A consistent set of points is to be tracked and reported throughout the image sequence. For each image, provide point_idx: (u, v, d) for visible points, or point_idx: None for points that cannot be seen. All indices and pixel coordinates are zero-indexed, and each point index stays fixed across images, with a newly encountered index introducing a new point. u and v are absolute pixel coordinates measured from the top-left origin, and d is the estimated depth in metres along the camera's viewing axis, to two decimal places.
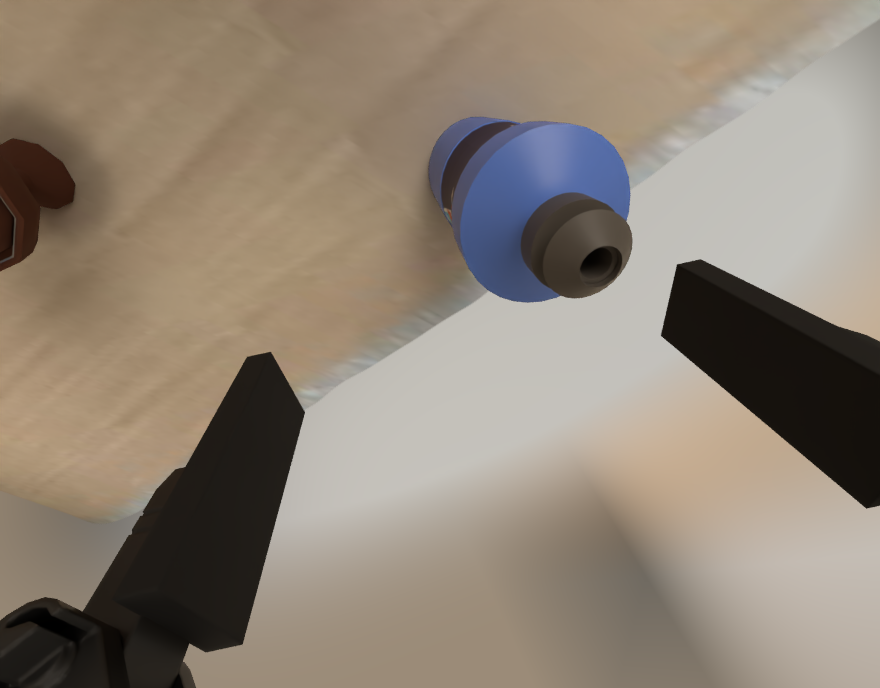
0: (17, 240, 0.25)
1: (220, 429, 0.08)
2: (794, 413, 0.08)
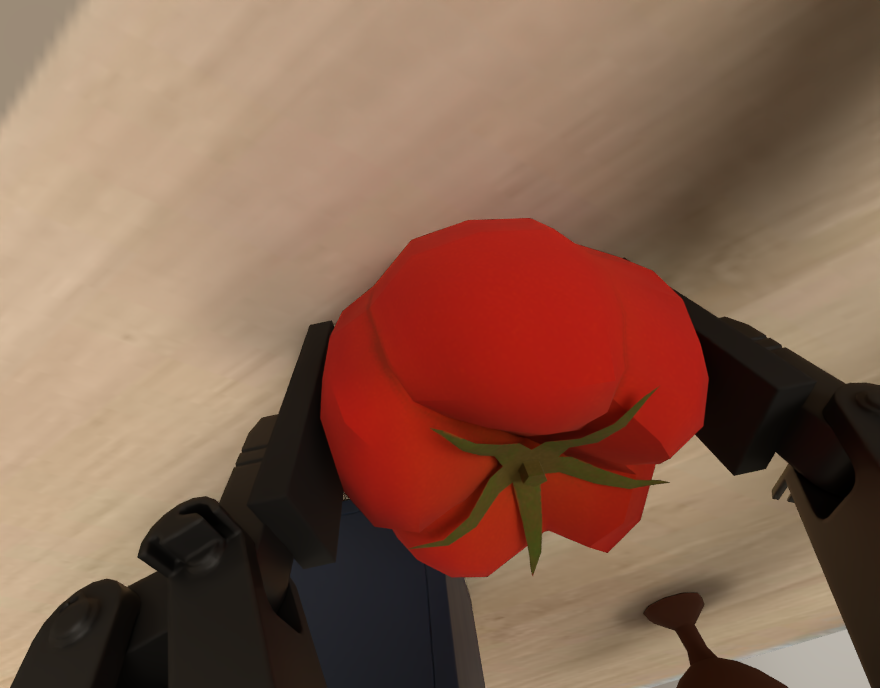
0: None
1: (303, 381, 0.09)
2: None
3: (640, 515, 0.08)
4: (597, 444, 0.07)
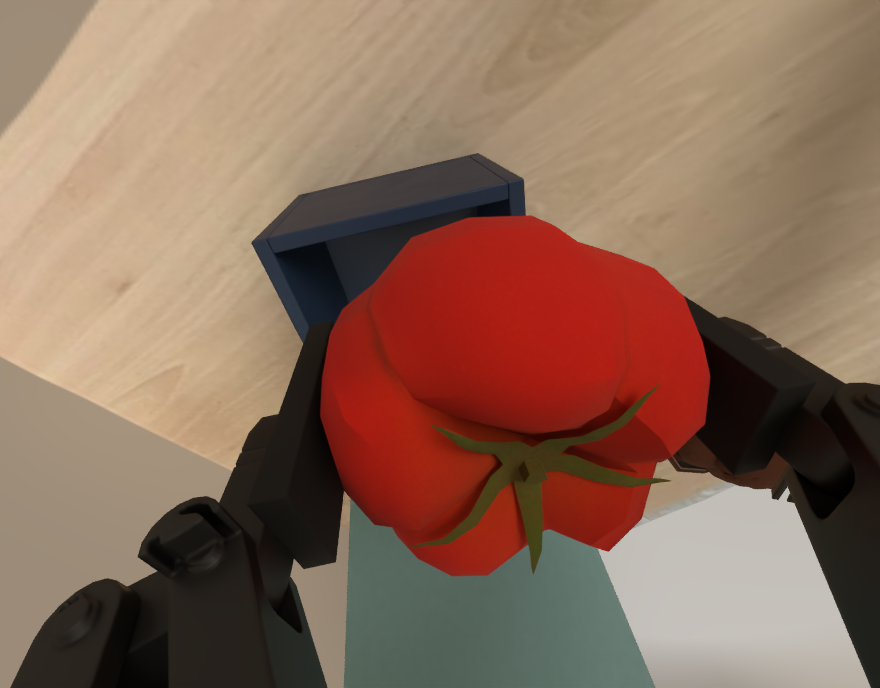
0: None
1: (303, 381, 0.09)
2: None
3: (641, 513, 0.08)
4: (598, 442, 0.07)
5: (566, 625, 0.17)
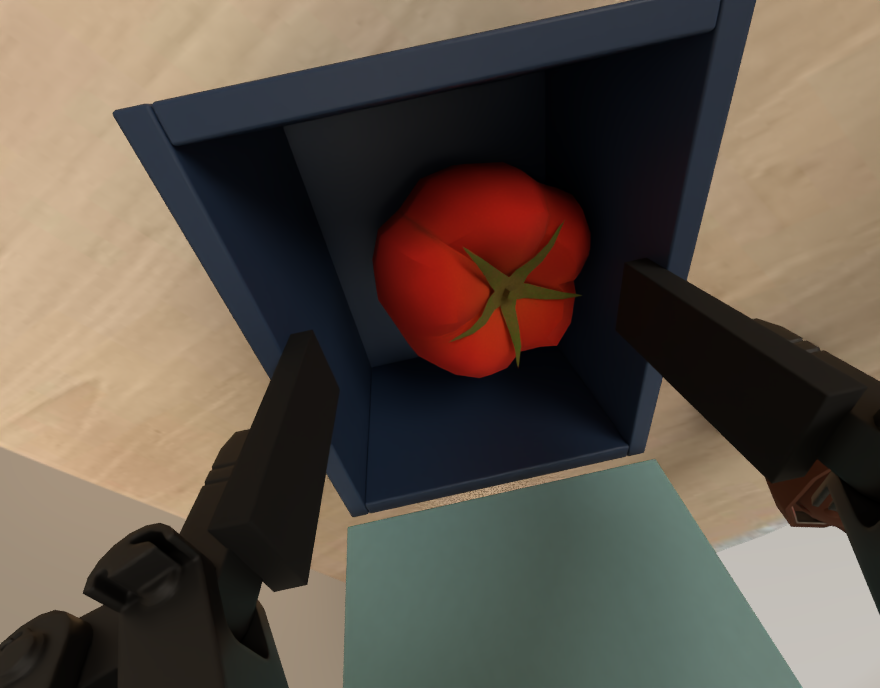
0: None
1: (277, 394, 0.09)
2: (716, 399, 0.09)
3: (570, 319, 0.15)
4: (542, 266, 0.13)
5: None
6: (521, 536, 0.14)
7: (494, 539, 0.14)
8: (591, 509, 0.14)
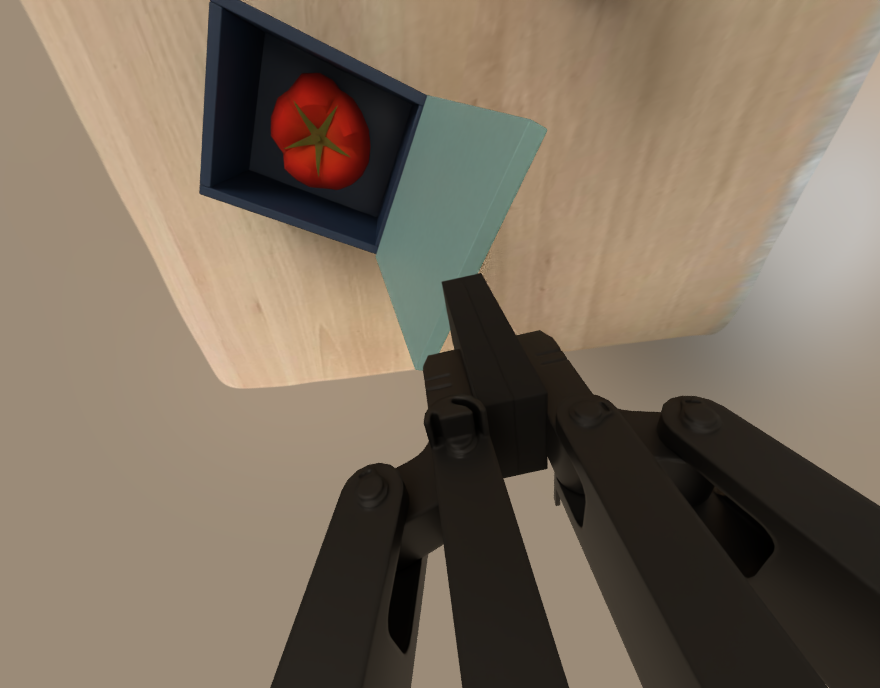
0: None
1: (467, 321, 0.10)
2: None
3: (345, 118, 0.30)
4: (312, 118, 0.30)
5: (463, 165, 0.19)
6: (403, 186, 0.29)
7: (399, 199, 0.29)
8: (415, 146, 0.28)
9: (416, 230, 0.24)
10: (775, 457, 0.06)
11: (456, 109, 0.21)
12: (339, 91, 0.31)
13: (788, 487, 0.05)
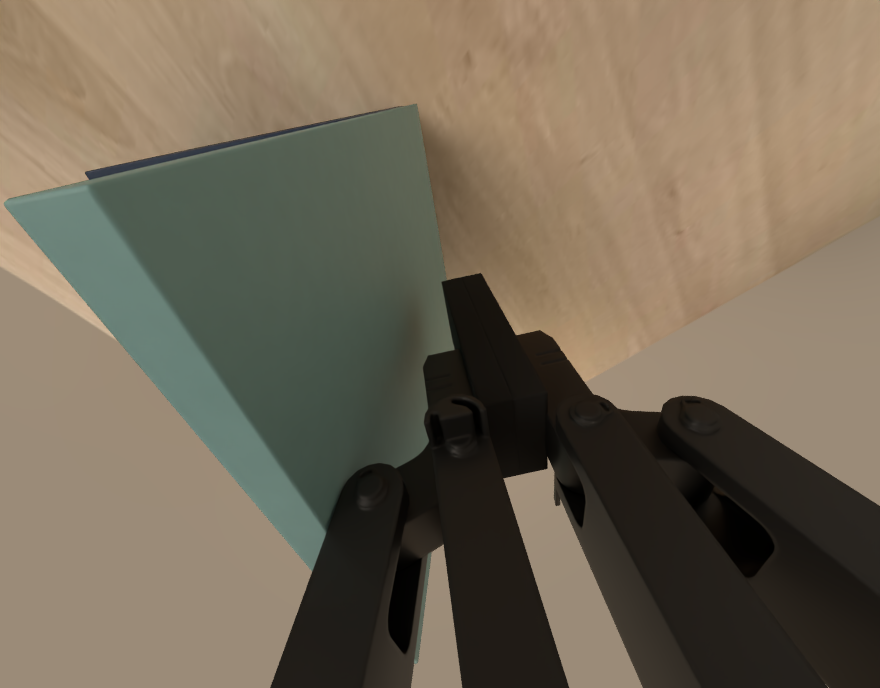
0: None
1: (467, 321, 0.10)
2: None
3: None
4: None
5: None
6: None
7: None
8: None
9: None
10: (776, 457, 0.06)
11: None
12: None
13: (788, 487, 0.05)
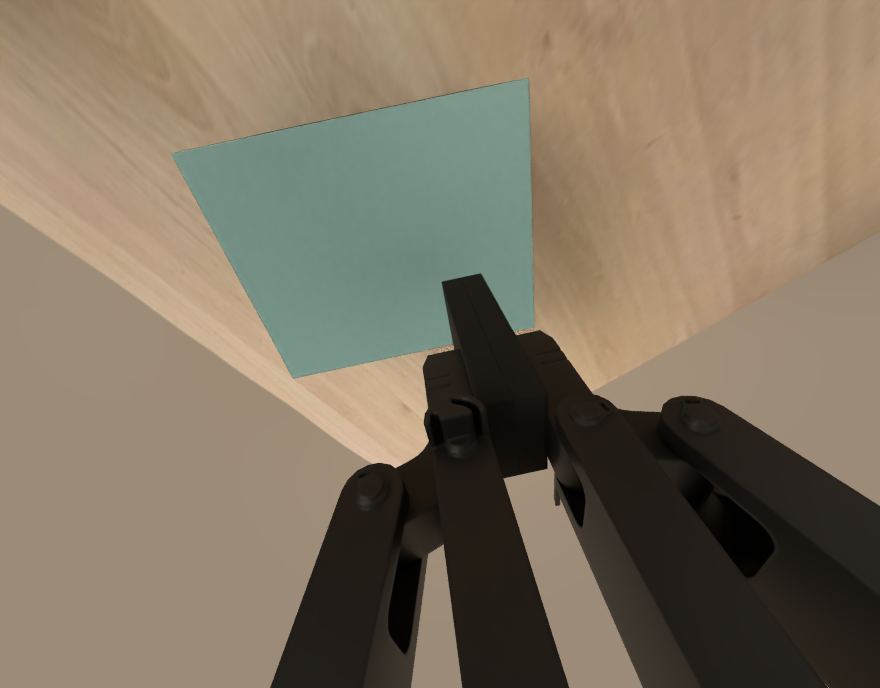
0: None
1: (467, 321, 0.10)
2: None
3: None
4: None
5: None
6: None
7: None
8: None
9: None
10: (776, 457, 0.06)
11: None
12: None
13: (788, 487, 0.05)
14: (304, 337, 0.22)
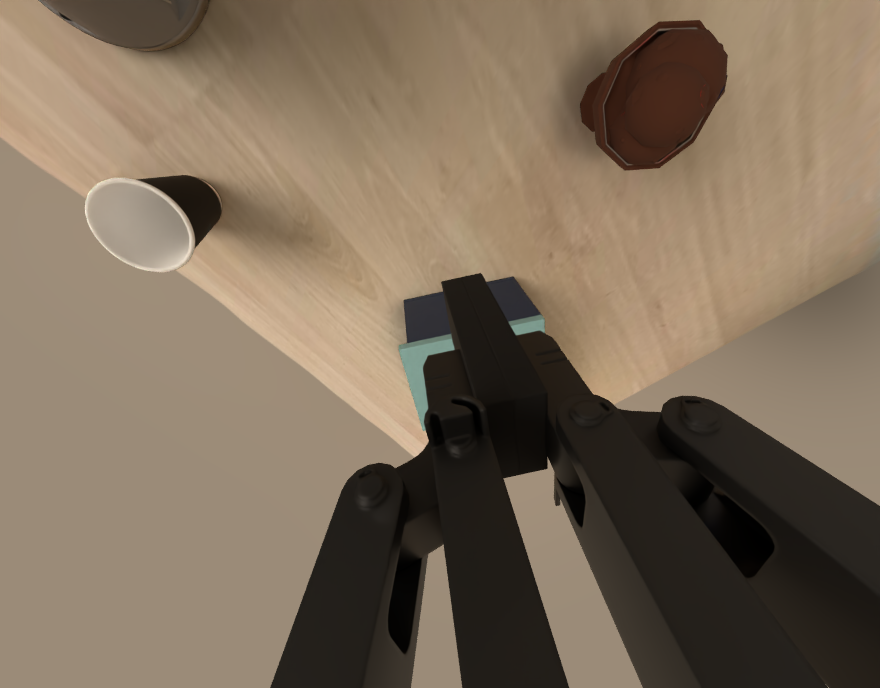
0: None
1: (467, 321, 0.10)
2: None
3: None
4: None
5: None
6: None
7: None
8: None
9: None
10: (776, 457, 0.06)
11: None
12: None
13: (788, 487, 0.05)
14: None
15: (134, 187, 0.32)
